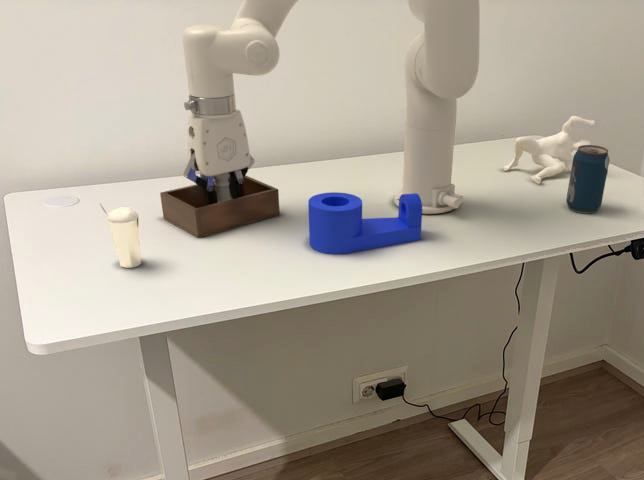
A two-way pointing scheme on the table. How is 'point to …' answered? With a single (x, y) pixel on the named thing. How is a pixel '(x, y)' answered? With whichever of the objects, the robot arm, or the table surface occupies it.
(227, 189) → the rook chess piece
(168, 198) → the crate
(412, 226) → the bracket
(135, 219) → the milkshake
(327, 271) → the table surface
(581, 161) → the soda can
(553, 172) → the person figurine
